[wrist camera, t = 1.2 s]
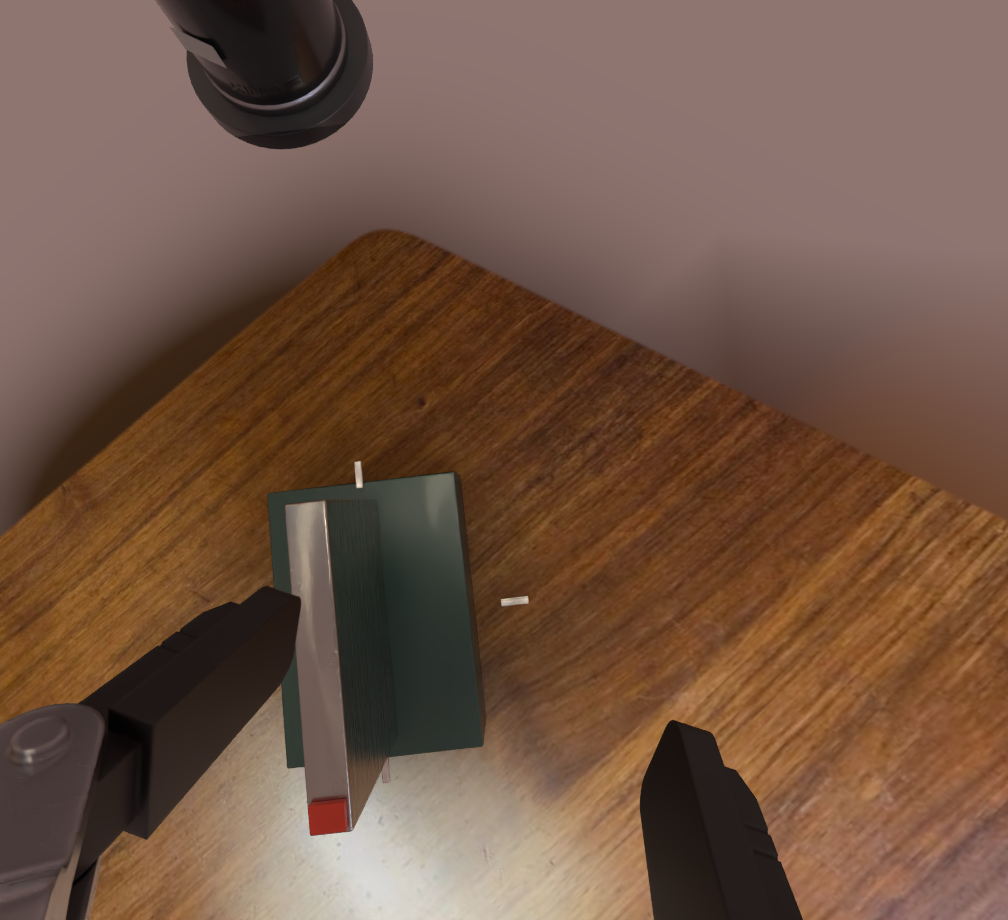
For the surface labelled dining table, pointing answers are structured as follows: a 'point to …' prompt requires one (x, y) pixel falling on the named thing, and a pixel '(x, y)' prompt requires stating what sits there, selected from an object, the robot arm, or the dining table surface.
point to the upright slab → (341, 656)
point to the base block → (409, 611)
